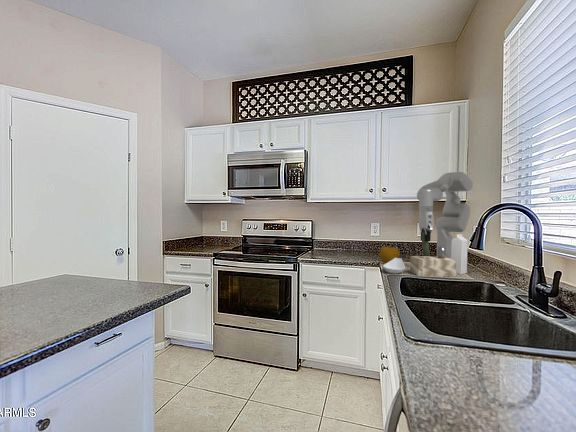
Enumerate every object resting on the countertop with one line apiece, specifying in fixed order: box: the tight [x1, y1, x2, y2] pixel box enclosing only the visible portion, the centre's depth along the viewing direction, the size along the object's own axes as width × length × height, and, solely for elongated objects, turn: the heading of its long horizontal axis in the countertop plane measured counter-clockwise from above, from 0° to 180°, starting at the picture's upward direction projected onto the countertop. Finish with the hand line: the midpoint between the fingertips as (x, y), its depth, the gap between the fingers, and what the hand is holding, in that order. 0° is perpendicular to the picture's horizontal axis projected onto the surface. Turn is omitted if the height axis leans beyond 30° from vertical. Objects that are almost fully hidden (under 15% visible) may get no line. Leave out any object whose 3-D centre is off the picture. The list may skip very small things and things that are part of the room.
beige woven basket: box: [409, 247, 457, 277], centre depth 166 cm, size 20×11×15 cm, turn 90°
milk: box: [451, 233, 469, 275], centre depth 172 cm, size 6×6×22 cm
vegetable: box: [421, 228, 430, 256], centre depth 178 cm, size 4×4×20 cm
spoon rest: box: [382, 257, 406, 275], centre depth 173 cm, size 24×12×7 cm, turn 150°
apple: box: [378, 246, 401, 265], centre depth 197 cm, size 13×13×11 cm
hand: (425, 240), depth 178 cm, fingers closed on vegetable, 4 cm apart
